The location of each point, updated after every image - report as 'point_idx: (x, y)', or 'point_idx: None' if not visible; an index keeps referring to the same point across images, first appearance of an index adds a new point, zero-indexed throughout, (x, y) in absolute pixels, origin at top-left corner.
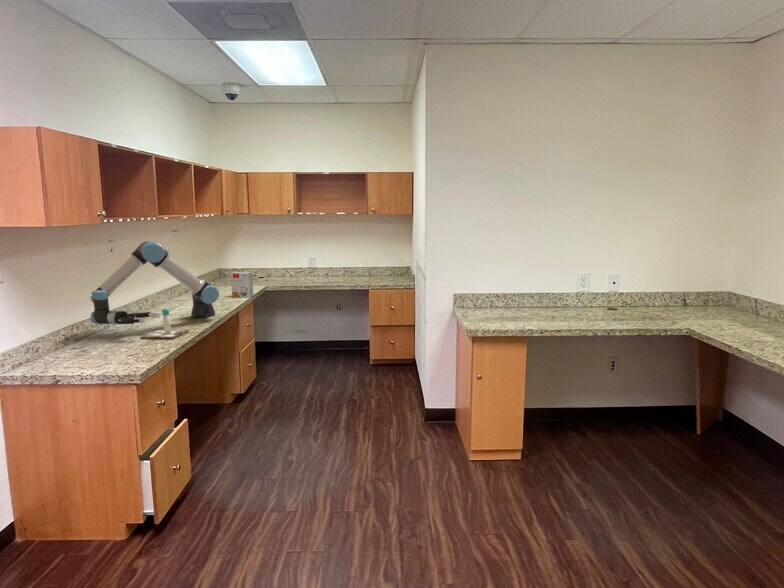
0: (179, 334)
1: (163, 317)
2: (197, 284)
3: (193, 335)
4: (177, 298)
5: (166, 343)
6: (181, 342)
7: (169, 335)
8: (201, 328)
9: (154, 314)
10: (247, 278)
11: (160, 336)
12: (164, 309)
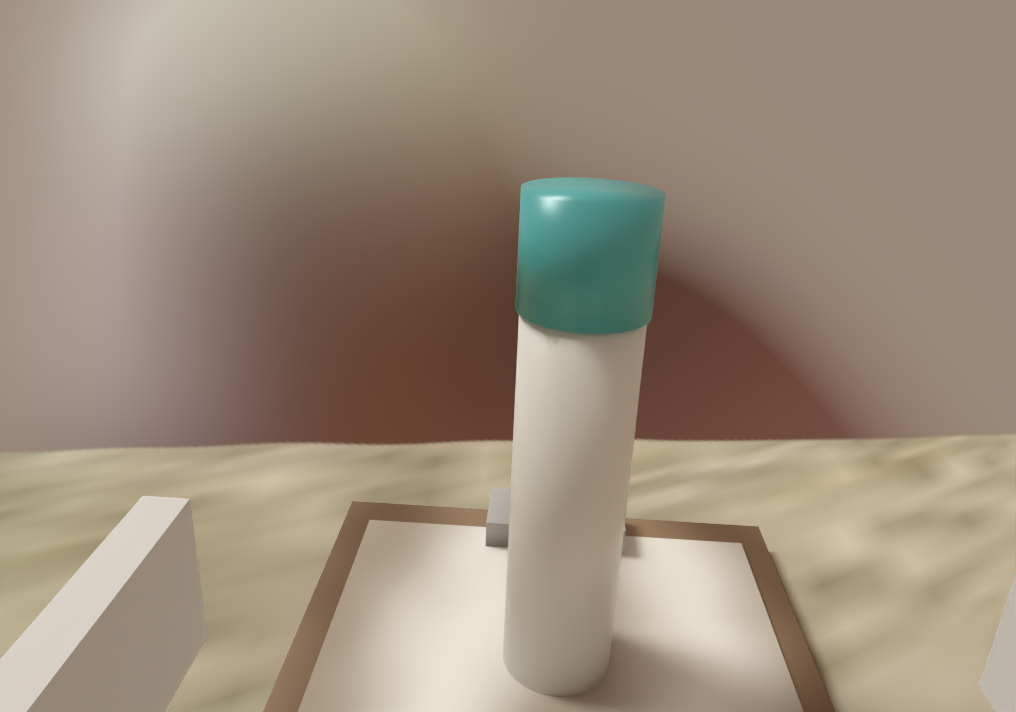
0: None
1: (638, 374)
2: None
3: None
4: None
5: (950, 546)
6: (834, 455)
7: (682, 588)
8: (164, 474)
9: (111, 670)
10: None
11: (782, 678)
12: (606, 193)
